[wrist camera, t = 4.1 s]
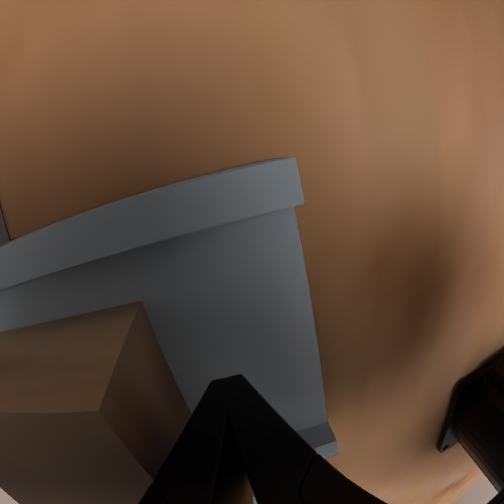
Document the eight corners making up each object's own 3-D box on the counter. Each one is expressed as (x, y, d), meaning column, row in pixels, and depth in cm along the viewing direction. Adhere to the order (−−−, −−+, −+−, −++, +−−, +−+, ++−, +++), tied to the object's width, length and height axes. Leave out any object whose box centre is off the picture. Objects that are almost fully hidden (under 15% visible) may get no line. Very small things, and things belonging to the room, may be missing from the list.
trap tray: (238, 12, 7) (247, -23, 5) (327, 469, 12) (339, 498, 10) (-126, 220, 5) (-149, 229, 3) (23, 488, 11) (16, 508, 9)
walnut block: (199, 428, 9) (204, 529, 5) (60, 438, 9) (34, 515, 5) (141, 300, 7) (98, 410, 4) (-9, 333, 7) (-72, 404, 3)
